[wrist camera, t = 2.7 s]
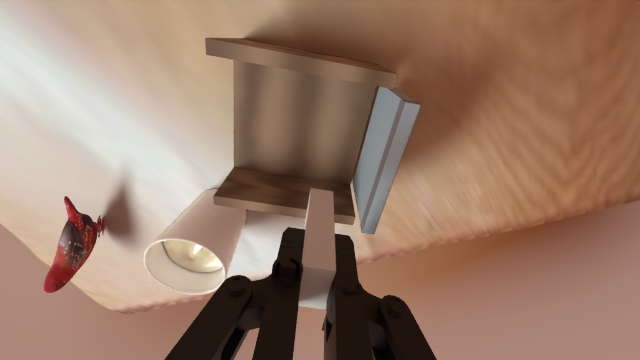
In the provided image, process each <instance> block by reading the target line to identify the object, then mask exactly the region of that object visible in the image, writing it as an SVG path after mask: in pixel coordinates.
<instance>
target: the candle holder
mask: <svg viewBox="0 0 640 360" xmlns="http://www.w3.org/2000/svg"><path fill="white" fill-rule="evenodd" d="M217 190H218V189H211V190H207V191H205V192H203V193H201V194H200V195H199V196H198V197H197V198H196V199H195V200H194V201H193V202H192V203H191V204H190V205H189V206H188V207H187V208H186V209H185V210H184V211H183V212H182V213H181V214H180V215H179V216H178V217H177V218H176V219H175V220H174V221H173V222H172V223H171V224H170V225H169V226H168V227H167V228H166V229H165V231H164V232H163V233H162V234H161V235H160V236H159V237H158V238H157V239H156V240H155V241H154V242H152V243H151V244H150V245H149V246H148V247H147V249H146V251H145V253H144V264H145V267H146V269H147V271H148V272H149V274H150V275H151V276H152V277H153V278H154V279H155V280H156V281H157V282H159V283H160V284H162V285H163V286H165V287H167V288H169V289H171V290H174V291H177V292H180V293H185V294H192V295H200V294H207V293H210V292H213V291H215V290H217V289H218V288H219V287H220V285H221V284H222V283H223V282H224V281H225V280H226V277H227V273H228V270H229V267H230V264H231V261H232V258H233V255H234V252H235V249H236V247H237V244H238V241H239V238H240V235H241V232H242V229H243V226H244V223H245V220H246V209H239V208H233V207H226V206H219V205H214V200H213V196H214V194H215V193H216V191H217Z"/></svg>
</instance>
